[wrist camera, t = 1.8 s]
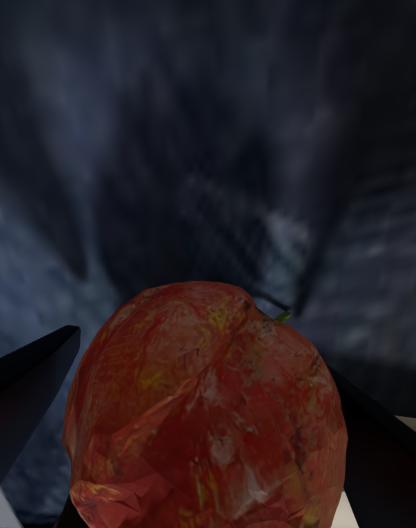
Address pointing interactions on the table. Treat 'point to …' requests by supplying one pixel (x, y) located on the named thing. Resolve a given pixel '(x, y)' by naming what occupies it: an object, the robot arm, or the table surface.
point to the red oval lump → (202, 418)
